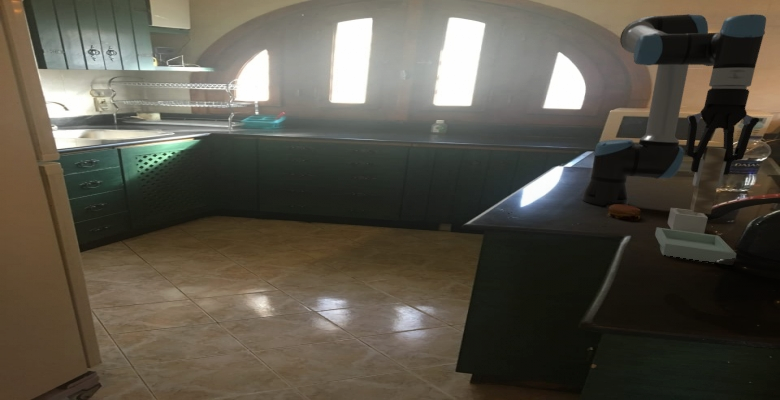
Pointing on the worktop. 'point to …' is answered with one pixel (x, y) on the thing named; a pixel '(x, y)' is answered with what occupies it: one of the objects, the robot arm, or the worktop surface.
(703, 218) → the white square box
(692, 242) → the tray
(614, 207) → the burger
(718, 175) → the peg
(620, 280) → the worktop surface
